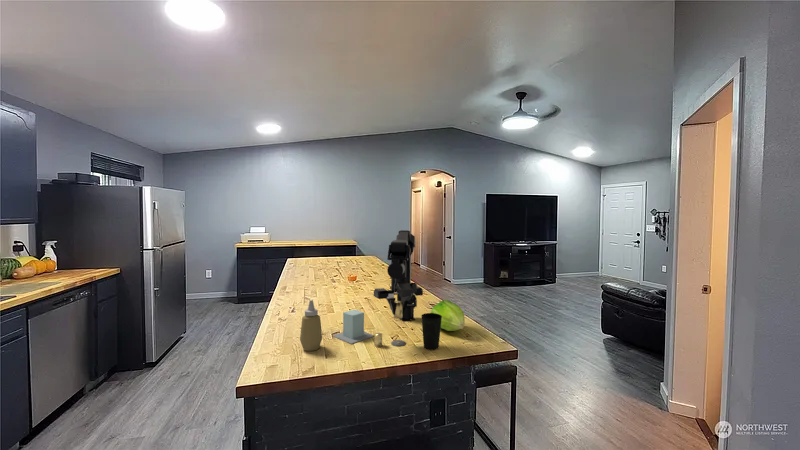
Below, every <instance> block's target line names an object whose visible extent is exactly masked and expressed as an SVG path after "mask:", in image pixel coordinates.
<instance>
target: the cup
mask: <svg viewBox="0 0 800 450" xmlns="http://www.w3.org/2000/svg"><path fill="white" fill-rule="evenodd" d="M420 316H421V327H422V328H421V329H422V340H423V349H425V350H428V351H436V350H438V349H439V348H438V347H440V336H441V320H442V316H441V315H439V314H436V313H431V312H427V313H426V312H425V313H423V314H421V315H420Z"/></svg>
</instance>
